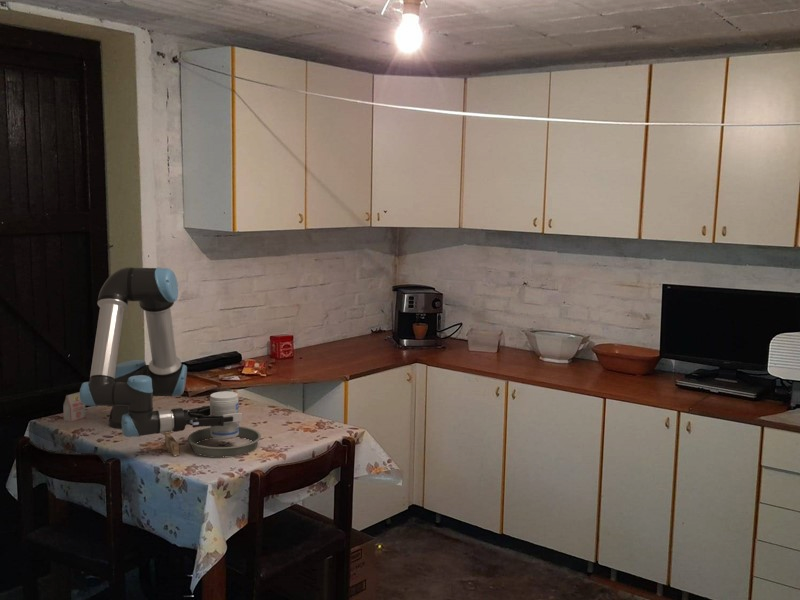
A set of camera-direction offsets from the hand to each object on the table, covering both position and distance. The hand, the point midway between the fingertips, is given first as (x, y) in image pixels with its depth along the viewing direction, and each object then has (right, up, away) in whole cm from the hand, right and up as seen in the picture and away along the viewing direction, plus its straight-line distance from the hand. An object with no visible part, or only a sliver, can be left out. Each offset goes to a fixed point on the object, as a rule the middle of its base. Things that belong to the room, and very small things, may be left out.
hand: (237, 412), depth 267 cm
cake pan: (-4, -12, 0) cm, 13 cm away
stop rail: (-21, -12, -5) cm, 25 cm away
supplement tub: (-4, -8, -1) cm, 9 cm away
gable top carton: (-67, -6, +26) cm, 72 cm away
